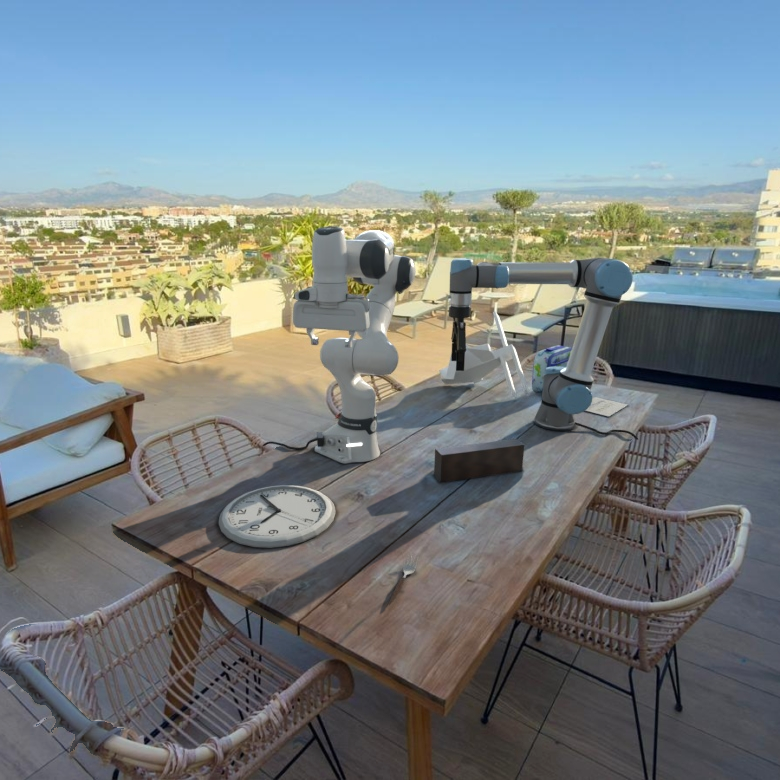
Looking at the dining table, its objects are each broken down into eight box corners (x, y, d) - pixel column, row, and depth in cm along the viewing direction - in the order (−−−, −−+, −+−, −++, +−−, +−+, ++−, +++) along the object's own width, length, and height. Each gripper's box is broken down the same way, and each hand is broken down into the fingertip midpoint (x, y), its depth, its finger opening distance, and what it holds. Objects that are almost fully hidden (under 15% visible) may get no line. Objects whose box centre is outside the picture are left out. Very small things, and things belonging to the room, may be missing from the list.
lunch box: (548, 398, 236) (553, 353, 229) (527, 393, 243) (531, 349, 237) (575, 387, 253) (581, 344, 247) (555, 382, 260) (560, 341, 254)
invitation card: (608, 416, 214) (573, 407, 224) (608, 416, 214) (573, 408, 224) (628, 404, 229) (594, 396, 238) (628, 405, 229) (594, 397, 238)
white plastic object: (461, 429, 252) (437, 405, 227) (444, 352, 274) (420, 323, 250) (535, 404, 240) (518, 377, 215) (510, 326, 262) (492, 293, 237)
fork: (383, 605, 105) (383, 597, 105) (407, 560, 120) (408, 552, 119) (395, 608, 104) (395, 600, 104) (418, 562, 119) (419, 555, 118)
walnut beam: (513, 464, 170) (516, 438, 167) (521, 471, 165) (524, 444, 162) (433, 475, 161) (435, 448, 158) (440, 482, 157) (441, 455, 154)
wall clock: (334, 539, 124) (204, 543, 122) (334, 545, 125) (205, 549, 122) (336, 480, 153) (231, 483, 150) (336, 485, 153) (231, 488, 151)
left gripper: (372, 293, 134) (372, 346, 138) (298, 289, 139) (301, 340, 143) (365, 296, 128) (365, 351, 133) (288, 293, 133) (291, 346, 137)
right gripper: (445, 300, 191) (443, 357, 197) (453, 311, 167) (450, 375, 173) (465, 300, 191) (463, 357, 197) (476, 311, 167) (473, 375, 173)
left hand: (331, 346), depth 138 cm, fingers open, 8 cm apart
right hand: (457, 365), depth 185 cm, fingers open, 13 cm apart
